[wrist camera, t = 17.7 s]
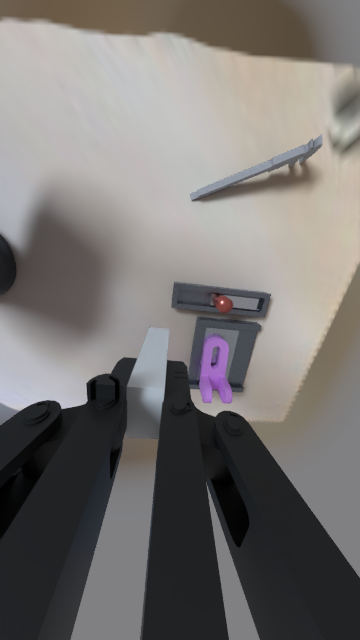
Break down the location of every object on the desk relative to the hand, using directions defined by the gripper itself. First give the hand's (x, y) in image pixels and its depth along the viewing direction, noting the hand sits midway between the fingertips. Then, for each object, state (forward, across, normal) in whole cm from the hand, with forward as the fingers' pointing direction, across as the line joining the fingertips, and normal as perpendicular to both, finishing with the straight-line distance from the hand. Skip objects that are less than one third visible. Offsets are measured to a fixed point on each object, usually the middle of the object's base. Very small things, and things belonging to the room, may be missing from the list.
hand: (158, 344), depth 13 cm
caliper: (+25, +12, +22) cm, 35 cm away
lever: (+24, +14, 0) cm, 27 cm away
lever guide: (+24, +11, 0) cm, 27 cm away
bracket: (+23, +12, -15) cm, 30 cm away
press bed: (+24, +14, -14) cm, 31 cm away
